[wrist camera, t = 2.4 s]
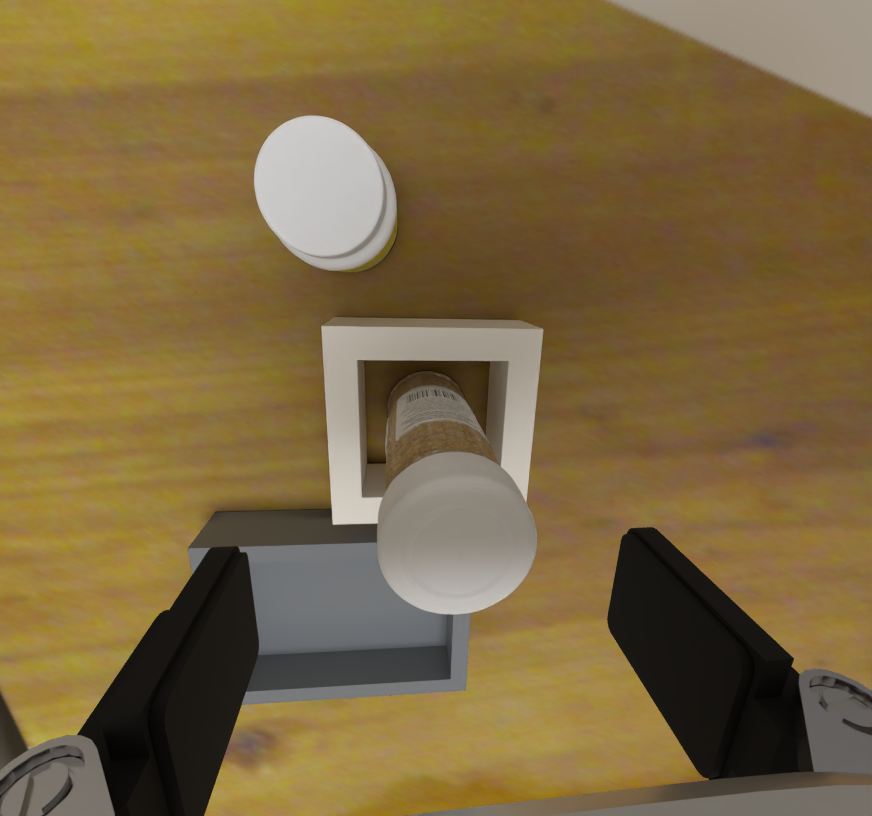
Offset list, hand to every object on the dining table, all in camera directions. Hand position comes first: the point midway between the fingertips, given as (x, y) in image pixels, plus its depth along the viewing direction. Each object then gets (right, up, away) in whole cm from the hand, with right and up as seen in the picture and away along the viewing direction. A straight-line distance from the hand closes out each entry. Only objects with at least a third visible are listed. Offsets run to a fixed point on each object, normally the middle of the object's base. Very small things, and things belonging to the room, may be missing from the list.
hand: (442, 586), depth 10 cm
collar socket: (-1, +4, +14) cm, 14 cm away
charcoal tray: (-6, -7, +17) cm, 19 cm away
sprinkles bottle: (-1, +4, +14) cm, 15 cm away
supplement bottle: (-4, +14, +11) cm, 18 cm away
